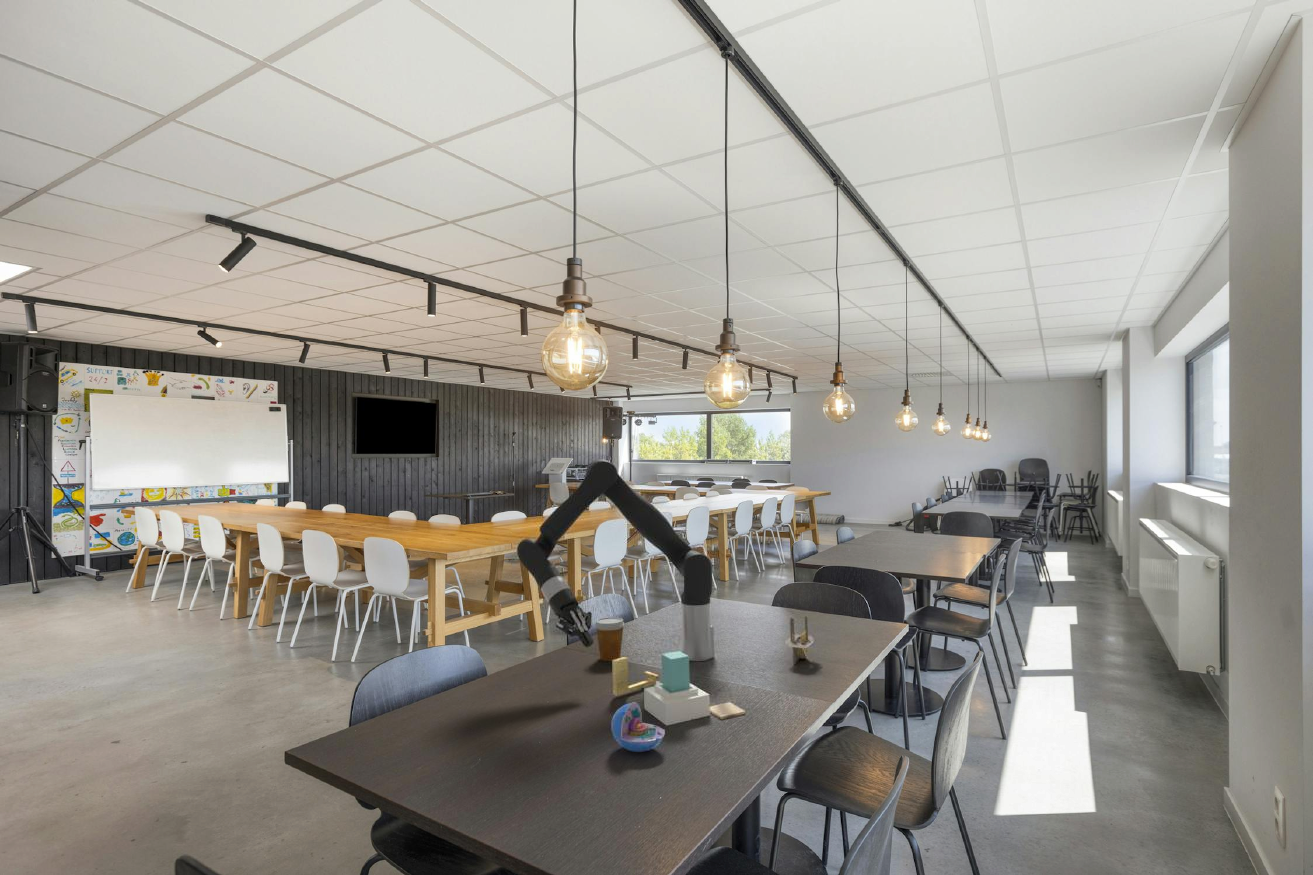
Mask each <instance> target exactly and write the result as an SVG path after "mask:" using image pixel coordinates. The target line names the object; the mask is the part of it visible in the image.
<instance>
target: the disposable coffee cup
mask: <svg viewBox="0 0 1313 875" xmlns="http://www.w3.org/2000/svg"><path fill="white" fill-rule="evenodd" d="M624 626H625V622H624V619H623V618H621V617H618V616H617V617H615V616H609V617H607V616H606V617H601V618H598V619H596V620H595V623H594V627H595V629H596V636H597V642H598V650H599V655H600V656H599V657H600V660H602V661H604V662H612V660H615V659H618V658H621V653H622V642H623V641H622V640H623V630H624Z"/></svg>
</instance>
